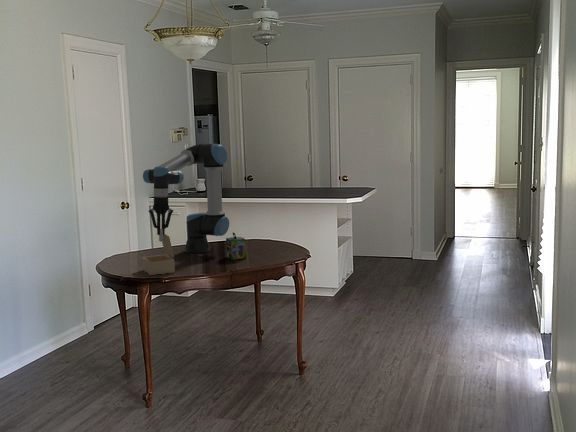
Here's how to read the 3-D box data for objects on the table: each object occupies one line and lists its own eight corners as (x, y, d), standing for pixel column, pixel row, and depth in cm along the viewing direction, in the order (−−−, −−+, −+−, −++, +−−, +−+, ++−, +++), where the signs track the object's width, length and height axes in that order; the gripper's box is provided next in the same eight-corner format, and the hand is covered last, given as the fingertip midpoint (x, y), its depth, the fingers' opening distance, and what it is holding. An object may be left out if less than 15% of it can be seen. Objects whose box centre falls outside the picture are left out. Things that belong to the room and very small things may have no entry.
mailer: (142, 270, 333) (142, 257, 332) (166, 267, 339) (166, 254, 338) (150, 275, 320) (149, 262, 319) (174, 272, 326) (174, 259, 325)
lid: (159, 232, 335) (161, 232, 335) (164, 252, 337) (166, 252, 338) (167, 236, 322) (169, 236, 322) (172, 257, 325) (174, 257, 325)
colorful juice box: (246, 258, 357) (245, 233, 355) (231, 260, 353) (230, 234, 351) (241, 255, 365) (240, 230, 363) (226, 257, 362) (225, 232, 360)
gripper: (150, 197, 319) (150, 242, 322) (175, 196, 325) (174, 241, 328) (146, 196, 326) (146, 240, 329) (170, 195, 332) (170, 239, 334)
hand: (160, 241), depth 328 cm, fingers closed
